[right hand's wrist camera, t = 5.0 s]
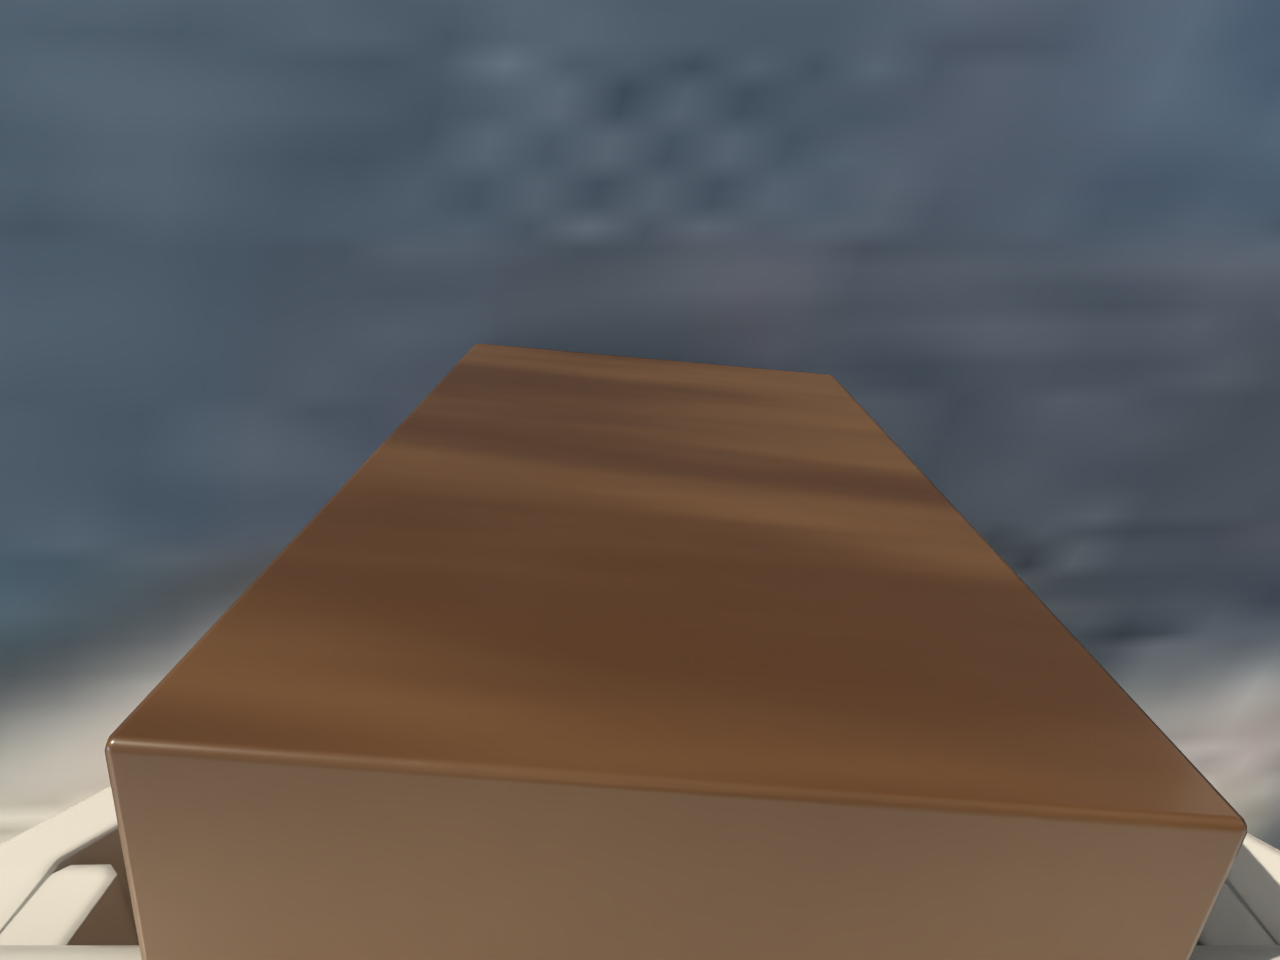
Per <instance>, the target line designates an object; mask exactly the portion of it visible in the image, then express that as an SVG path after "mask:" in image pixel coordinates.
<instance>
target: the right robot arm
mask: <svg viewBox="0 0 1280 960" xmlns="http://www.w3.org/2000/svg"><path fill="white" fill-rule="evenodd" d="M0 960H142V959H141V953H140V947H139V942H138V936H137V930H136V925H135V919H134V913H133V908H132V902H131V896H130V891H129V885H128V879H127V874H126V868H125V863H124V857H123V851H122V846H121V840H120V834H119V829H118V823H117V817H116V812H115V806H114V800H113V795H112V789H111V786H110V787H108V788H106V789H104V790H102V791H100V792H98V793H96V794H95V795H93V796H91V797H89V798H87V799H85V800H83V801H81V802H80V803H78V804H76V805H74V806H72V807H70V808H68V809H66V810H64V811H63V812H61V813H59V814H57V815H55V816H53V817H51V818H49V819H47V820H46V821H44V822H42V823H40V824H38V825H36V826H34V827H32V828H31V829H29V830H27V831H25V832H23V833H21V834H19V835H17V836H15V837H14V838H12V839H10V840H8V841H6V842H4V843H2V844H0ZM1189 960H1280V850H1278V849H1276V848H1274V847H1272V846H1270V845H1269V844H1267V843H1265V842H1263V841H1261V840H1259V839H1257V838H1256V837H1254V836H1252V835H1250V834H1248V833H1247V835H1246V837H1245V839H1244V841H1243V843H1242V846H1241V848H1240V850H1239V852H1238V854H1237V857H1236V859H1235V861H1234V863H1233V865H1232V867H1231V870H1230V872H1229V874H1228V876H1227V878H1226V880H1225V883H1224V885H1223V887H1222V889H1221V891H1220V894H1219V896H1218V898H1217V900H1216V902H1215V904H1214V907H1213V909H1212V911H1211V913H1210V915H1209V917H1208V920H1207V922H1206V924H1205V926H1204V928H1203V931H1202V933H1201V935H1200V937H1199V939H1198V941H1197V944H1196V946H1195V948H1194V950H1193V952H1192V954H1191V957H1190V959H1189Z"/></svg>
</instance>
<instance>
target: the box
mask: <svg viewBox="0 0 1280 960" xmlns="http://www.w3.org/2000/svg"><path fill="white" fill-rule="evenodd" d="M105 755H106V761H107V767H108V772H109V778H110V784H111V789H112V795H113V800H114V806H115V812H116V817H117V823H118V829H119V834H120V840H121V846H122V851H123V857H124V863H125V868H126V874H127V879H128V885H129V891H130V896H131V902H132V908H133V913H134V919H135V925H136V930H137V936H138V942H139V947H140V953H141V959H142V960H1189V959H1190V957H1191V954H1192V952H1193V950H1194V948H1195V946H1196V944H1197V941H1198V939H1199V937H1200V935H1201V933H1202V931H1203V928H1204V926H1205V924H1206V922H1207V920H1208V917H1209V915H1210V913H1211V911H1212V909H1213V907H1214V904H1215V902H1216V900H1217V898H1218V896H1219V894H1220V891H1221V889H1222V887H1223V885H1224V883H1225V880H1226V878H1227V876H1228V874H1229V872H1230V870H1231V867H1232V865H1233V863H1234V861H1235V859H1236V857H1237V854H1238V852H1239V850H1240V848H1241V846H1242V843H1243V841H1244V839H1245V837H1246V835H1247V825H1246V823H1245V821H1244V819H1243V818H1242V817H1241V816H1240V815H1239V814H1238V813H1237V811H1236V810H1235V809H1234V808H1233V807H1232V806H1231V805H1230V804H1229V803H1228V802H1227V801H1226V800H1225V799H1224V797H1223V796H1222V795H1221V794H1220V793H1219V792H1218V791H1217V790H1216V789H1215V788H1214V787H1213V786H1212V785H1211V783H1210V782H1209V781H1208V780H1207V779H1206V778H1205V777H1204V776H1203V775H1202V774H1201V773H1200V772H1199V770H1198V769H1197V768H1196V767H1195V766H1194V765H1193V764H1192V763H1191V762H1190V761H1189V760H1188V759H1187V758H1186V756H1185V755H1184V754H1183V753H1182V752H1181V751H1180V750H1179V749H1178V748H1177V747H1176V746H1175V745H1174V744H1173V742H1172V741H1171V740H1170V739H1169V738H1168V737H1167V736H1166V735H1165V734H1164V733H1163V732H1162V731H1161V729H1160V728H1159V727H1158V726H1157V725H1156V724H1155V723H1154V722H1153V721H1152V720H1151V719H1150V718H1149V717H1148V715H1147V714H1146V713H1145V712H1144V711H1143V710H1142V709H1141V708H1140V707H1139V706H1138V705H1137V704H1136V703H1135V701H1134V700H1133V699H1132V698H1131V697H1130V696H1129V695H1128V694H1127V693H1126V692H1125V691H1124V690H1123V688H1122V687H1121V686H1120V685H1119V684H1118V683H1117V682H1116V681H1115V680H1114V679H1113V678H1112V677H1111V676H1110V674H1109V673H1108V672H1107V671H1106V670H1105V669H1104V668H1103V667H1102V666H1101V665H1100V664H1099V663H1098V662H1097V660H1096V659H1095V658H1094V657H1093V656H1092V655H1091V654H1090V653H1089V652H1088V651H1087V650H1086V649H1085V647H1084V646H1083V645H1082V644H1081V643H1080V642H1079V641H1078V640H1077V639H1076V638H1075V637H1074V636H1073V635H1072V633H1071V632H1070V631H1069V630H1068V629H1067V628H1066V627H1065V626H1064V625H1063V624H1062V623H1061V622H1060V621H1059V619H1058V618H1057V617H1056V616H1055V615H1054V614H1053V613H1052V612H1051V611H1050V610H1049V609H1048V608H1047V606H1046V605H1045V604H1044V603H1043V602H1042V601H1041V600H1040V599H1039V598H1038V597H1037V596H1036V595H1035V594H1034V592H1033V591H1032V590H1031V589H1030V588H1029V587H1028V586H1027V585H1026V584H1025V583H1024V582H1023V581H1022V580H1021V578H1020V577H1019V576H1018V575H1017V574H1016V573H1015V572H1014V571H1013V570H1012V569H1011V568H1010V567H1009V565H1008V564H1007V563H1006V562H1005V561H1004V560H1003V559H1002V558H1001V557H1000V556H999V555H998V554H997V553H996V551H995V550H994V549H993V548H992V547H991V546H990V545H989V544H988V543H987V542H986V541H985V540H984V539H983V537H982V536H981V535H980V534H979V533H978V532H977V531H976V530H975V529H974V528H973V527H972V526H971V524H970V523H969V522H968V521H967V520H966V519H965V518H964V517H963V516H962V515H961V514H960V513H959V512H958V510H957V509H956V508H955V507H954V506H953V505H952V504H951V503H950V502H949V501H948V500H947V499H946V498H945V496H944V495H943V494H942V493H941V492H940V491H939V490H938V489H937V488H936V487H935V486H934V485H933V483H932V482H931V481H930V480H929V479H928V478H927V477H926V476H925V475H924V474H923V473H922V472H921V471H920V469H919V468H918V467H917V466H916V465H915V464H914V463H913V462H912V461H911V460H910V459H909V458H908V457H907V455H906V454H905V453H904V452H903V451H902V450H901V449H900V448H899V447H898V446H897V445H896V444H895V442H894V441H893V440H892V439H891V438H890V437H889V436H888V435H887V434H886V433H885V432H884V431H883V430H882V428H881V427H880V426H879V425H878V424H877V423H876V422H875V421H874V420H873V419H872V418H871V417H870V416H869V414H868V413H867V412H866V411H865V410H864V409H863V408H862V407H861V406H860V405H859V404H858V403H857V401H856V400H855V399H854V398H853V397H852V396H851V395H850V394H849V393H848V392H847V391H846V390H845V389H844V387H843V386H842V385H841V384H840V383H839V382H838V381H837V380H836V379H835V378H834V377H833V376H831V375H824V374H813V373H802V372H791V371H780V370H769V369H757V368H746V367H735V366H724V365H713V364H702V363H691V362H679V361H668V360H657V359H646V358H635V357H624V356H612V355H601V354H590V353H579V352H568V351H557V350H546V349H534V348H523V347H512V346H501V345H490V344H479V343H478V344H475V345H474V346H473V347H472V348H471V349H470V350H469V351H468V353H467V354H466V355H465V356H464V357H463V358H462V359H461V360H460V361H459V362H458V363H457V364H456V365H455V366H454V368H453V369H452V370H451V371H450V372H449V373H448V374H447V375H446V376H445V377H444V378H443V379H442V380H441V381H440V383H439V384H438V385H437V386H436V387H435V388H434V389H433V390H432V391H431V392H430V393H429V394H428V395H427V396H426V398H425V399H424V400H423V401H422V402H421V403H420V404H419V405H418V406H417V407H416V408H415V409H414V410H413V412H412V413H411V414H410V415H409V416H408V417H407V418H406V419H405V420H404V421H403V422H402V423H401V424H400V425H399V427H398V428H397V429H396V430H395V431H394V432H393V433H392V434H391V435H390V436H389V437H388V438H387V439H386V440H385V442H384V443H383V444H382V445H381V446H380V447H379V448H378V449H377V450H376V451H375V452H374V453H373V454H372V455H371V457H370V458H369V459H368V460H367V461H366V462H365V463H364V464H363V465H362V466H361V467H360V468H359V469H358V470H357V472H356V473H355V474H354V475H353V476H352V477H351V478H350V479H349V480H348V481H347V482H346V483H345V484H344V486H343V487H342V488H341V489H340V490H339V491H338V492H337V493H336V494H335V495H334V496H333V497H332V498H331V499H330V501H329V502H328V503H327V504H326V505H325V506H324V507H323V508H322V509H321V510H320V511H319V512H318V513H317V514H316V516H315V517H314V518H313V519H312V520H311V521H310V522H309V523H308V524H307V525H306V526H305V527H304V528H303V529H302V531H301V532H300V533H299V534H298V535H297V536H296V537H295V538H294V539H293V540H292V541H291V542H290V543H289V544H288V546H287V547H286V548H285V549H284V550H283V551H282V552H281V553H280V554H279V555H278V556H277V557H276V558H275V560H274V561H273V562H272V563H271V564H270V565H269V566H268V567H267V568H266V569H265V570H264V571H263V572H262V573H261V575H260V576H259V577H258V578H257V579H256V580H255V581H254V582H253V583H252V584H251V585H250V586H249V587H248V588H247V590H246V591H245V592H244V593H243V594H242V595H241V596H240V597H239V598H238V599H237V600H236V601H235V602H234V603H233V605H232V606H231V607H230V608H229V609H228V610H227V611H226V612H225V613H224V614H223V615H222V616H221V617H220V618H219V620H218V621H217V622H216V623H215V624H214V625H213V626H212V627H211V628H210V629H209V630H208V631H207V632H206V633H205V635H204V636H203V637H202V638H201V639H200V640H199V641H198V642H197V643H196V644H195V645H194V646H193V647H192V649H191V650H190V651H189V652H188V653H187V654H186V655H185V656H184V657H183V658H182V659H181V660H180V661H179V662H178V664H177V665H176V666H175V667H174V668H173V669H172V670H171V671H170V672H169V673H168V674H167V675H166V676H165V677H164V679H163V680H162V681H161V682H160V683H159V684H158V685H157V686H156V687H155V688H154V689H153V690H152V691H151V692H150V694H149V695H148V696H147V697H146V698H145V699H144V700H143V701H142V702H141V703H140V704H139V705H138V706H137V707H136V709H135V710H134V711H133V712H132V713H131V714H130V715H129V716H128V717H127V718H126V719H125V720H124V721H123V723H122V724H121V725H120V726H119V727H118V728H117V729H116V730H115V731H114V732H113V733H112V734H111V735H110V736H109V739H108V741H107V743H106V748H105Z"/></svg>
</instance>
